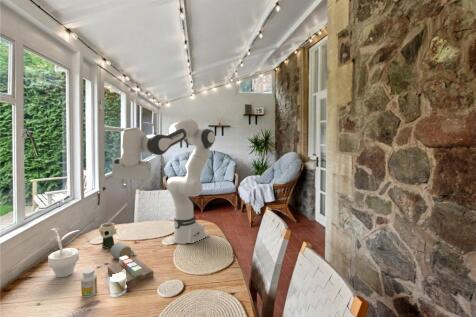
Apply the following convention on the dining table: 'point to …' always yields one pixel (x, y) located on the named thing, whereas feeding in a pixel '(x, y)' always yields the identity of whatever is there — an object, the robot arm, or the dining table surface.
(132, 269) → the key sage
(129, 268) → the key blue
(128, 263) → the key brick
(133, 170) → the robot arm
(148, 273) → the key panel
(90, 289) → the supplement bottle
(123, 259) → the key ivory
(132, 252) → the ceramic mug
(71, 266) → the potted plant
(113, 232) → the character mug
